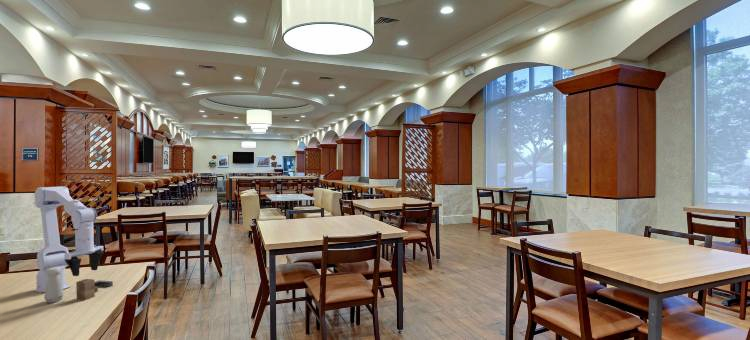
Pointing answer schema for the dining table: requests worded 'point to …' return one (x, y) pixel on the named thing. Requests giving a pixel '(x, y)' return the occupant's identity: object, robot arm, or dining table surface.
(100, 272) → the dining table surface
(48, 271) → the grey vase
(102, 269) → the dining table surface
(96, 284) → the bracket slot
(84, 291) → the brown upright block
